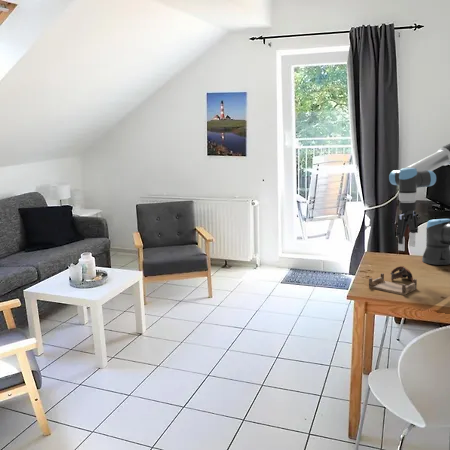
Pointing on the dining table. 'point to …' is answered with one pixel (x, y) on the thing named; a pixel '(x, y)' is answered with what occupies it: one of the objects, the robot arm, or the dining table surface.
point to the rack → (391, 286)
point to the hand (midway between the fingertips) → (406, 248)
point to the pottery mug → (401, 273)
